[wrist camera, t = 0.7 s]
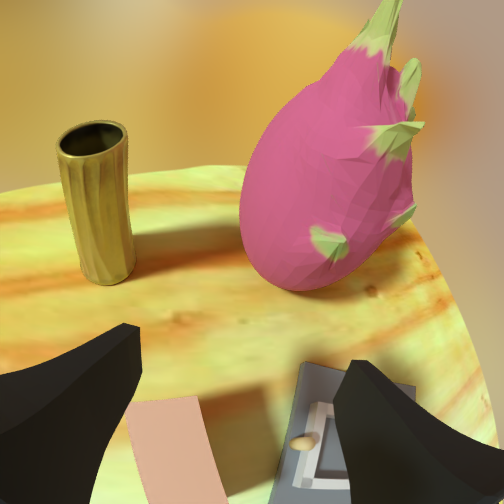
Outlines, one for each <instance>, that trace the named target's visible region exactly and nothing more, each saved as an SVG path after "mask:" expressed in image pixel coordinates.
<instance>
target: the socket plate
mask: <svg viewBox="0 0 504 504" xmlns="http://www.w3.org/2000/svg"><path fill="white" fill-rule="evenodd" d="M345 374H346V372H343V371H339V370H335V369H331V368H328V367H324V366H320V365H316V364H313V363H309V362H306V361H305V362H304V363H302V364H301V366H300V371H299V376H298V382H297V387H296V392H295V397H294V402H293V407H292V411H291V416H290V421H289V425H288V429H287V434H286V438H285V442H284V446H283V451H282V455H281V458H280V462H279V466H278V470H277V474H276V478H275V481H274V485H273V488H272V492H271V495H270V499H269V502H268V504H351V495H350V484H349V478H348V473H347V469H346V465H345V461H344V457H343V453H342V449H341V445H340V441H339V437H338V433H337V429H336V425H335V417H334V408H333V399H334V397H335V395H336V393H337V391H338V389H339V386H340V384H341V382H342V380H343V378H344V376H345ZM393 383H394V382H393ZM394 384H395V385H396V386H397V387H398V388H400V389H401V390H402V391H403V392H404V393H405V394H406V395H408V396H409V397H410V398H411V399H412V400H413V401H415V393H416V386H410V385H404V384H399V383H394Z"/></svg>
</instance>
